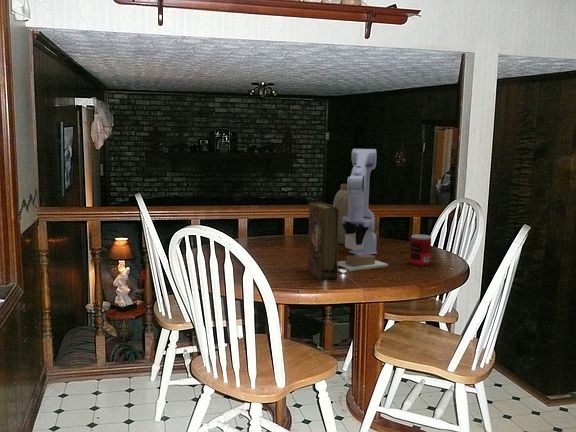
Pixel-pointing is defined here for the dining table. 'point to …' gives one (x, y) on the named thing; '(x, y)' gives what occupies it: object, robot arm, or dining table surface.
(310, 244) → the book
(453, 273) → the dining table surface
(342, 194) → the vase
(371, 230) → the robot arm
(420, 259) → the canned food
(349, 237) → the cream cube
